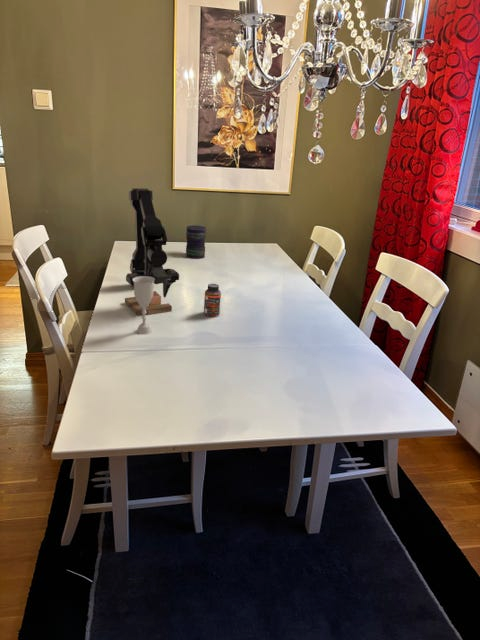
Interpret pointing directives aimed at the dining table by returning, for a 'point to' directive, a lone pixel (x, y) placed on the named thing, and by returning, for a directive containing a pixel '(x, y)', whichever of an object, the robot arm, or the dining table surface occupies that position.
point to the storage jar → (195, 242)
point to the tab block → (155, 299)
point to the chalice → (143, 299)
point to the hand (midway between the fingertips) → (153, 298)
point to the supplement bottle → (212, 300)
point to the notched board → (154, 309)
